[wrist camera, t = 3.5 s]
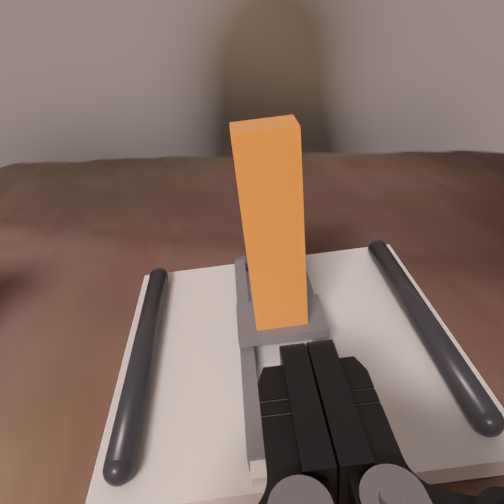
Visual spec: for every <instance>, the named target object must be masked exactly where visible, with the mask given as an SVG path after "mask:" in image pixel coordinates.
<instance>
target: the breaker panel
mask: <svg viewBox="0 0 504 504" xmlns="http://www.w3.org/2000/svg"><path fill="white" fill-rule="evenodd" d="M305 256H306V281H307V295H313V294H318V297H319V299H320V302H321V305H322V308H323V311H324V314H325V317H326V320H327V323H328V326H329V329H330V337H323V338H315V339H308V340H300V341H292V342H284V343H277V344H269V345H261V346H253V347H246V348H239V342H238V328H237V312H236V304H243V303H251V302H253V299H252V292H251V284H250V277H249V269H248V262H247V256H239V257H236V260H235V261H234V264H231V265H223V266H216V267H208V268H200V269H192V270H184V271H177V272H169V273H167V272H166V271H165V270H164V269H162V268H156V269H154V270H153V271H152V272H151V273H150V275H145V277H144V281H143V285H142V288H141V292H140V296H139V300H138V304H137V308H136V311H135V315H134V319H133V323H132V327H131V331H130V334H129V338H128V342H127V346H126V350H125V354H124V357H123V361H122V365H121V369H120V373H119V377H118V380H117V384H116V388H115V392H114V396H113V399H112V403H111V407H110V411H109V415H108V419H107V422H106V426H105V430H104V434H103V438H102V442H101V445H100V449H99V453H98V457H97V461H96V465H95V468H94V472H93V476H92V480H91V484H90V488H89V491H88V495H87V499H86V503H85V504H258V503H259V502H260V500H261V498H262V496H263V494H264V492H265V489H266V484H267V470H266V460H265V451H264V441H263V431H262V422H261V412H260V402H259V393H258V384H257V383H258V381H259V378H260V375H261V373H262V370H263V367H271V366H279V365H281V364H280V352H279V346H283V345H291V344H299V343H305V345H306V342H315V341H323V340H331V339H332V340H333V342H334V345H335V348H336V351H337V354H338V357H339V358H343V357H351V356H354V357H355V358H356V359H357V360H358V361H359V362H360V363H361V364H362V365H363V366H364V367H365V368H366V369H367V370H368V373H369V375H370V378H371V380H372V383H373V385H374V389H375V390H376V392H377V395H378V397H379V400H380V404H381V405H382V407H383V409H384V412H385V414H386V417H387V419H388V422H389V424H390V427H391V429H392V431H393V434H394V436H395V439H396V441H397V444H398V446H399V449H400V451H401V453H402V456H403V458H404V460H405V462H406V463H407V465H408V466H409V468H410V469H411V470H412V471H413V472H414V473H415V474H416V475H417V476H418V477H419V478H420V479H422V480H423V481H425V482H426V483H428V484H430V485H432V484H439V483H447V482H455V481H462V480H470V479H477V478H485V477H493V476H500V475H504V408H503V407H502V405H501V404H500V403H499V401H498V400H497V398H496V397H495V395H494V394H493V393H492V391H491V390H490V388H489V387H488V385H487V384H486V383H485V381H484V380H483V378H482V377H481V375H480V374H479V372H478V371H477V370H476V368H475V367H474V365H473V364H472V362H471V361H470V360H469V358H468V357H467V355H466V354H465V352H464V351H463V350H462V348H461V347H460V345H459V344H458V342H457V341H456V340H455V338H454V337H453V335H452V334H451V332H450V331H449V330H448V328H447V327H446V325H445V324H444V322H443V321H442V319H441V318H440V317H439V315H438V314H437V312H436V311H435V309H434V308H433V307H432V305H431V304H430V302H429V301H428V299H427V298H426V297H425V295H424V294H423V292H422V291H421V289H420V288H419V287H418V285H417V284H416V282H415V281H414V279H413V278H412V277H411V275H410V274H409V272H408V271H407V269H406V268H405V266H404V265H403V264H402V262H401V261H400V259H399V258H398V256H397V255H396V254H395V252H394V251H393V249H392V248H391V246H390V245H389V244H388V245H386V244H385V243H384V242H383V241H381V240H375V241H372V242H371V243H370V244H369V247H364V248H356V249H348V250H341V251H333V252H325V253H317V254H309V255H305Z"/></svg>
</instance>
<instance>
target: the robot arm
mask: <svg viewBox="0 0 504 504" xmlns="http://www.w3.org/2000/svg"><path fill="white" fill-rule="evenodd" d="M279 352H280V364H281V365H279V366H271V367H263V370H262V373H261V375H260V378H259V381H258V383H257V384H258V393H259V402H260V412H261V422H262V431H263V441H264V451H265V460H266V470H267V484H266V489H265V492H264V494H263V496H262V498H261V500H260V502H259V503H258V504H504V487H490V488H488V489H485V490H484V491H482V492H481V493H480V494H479V495H478V497H474V496H470V495H465V494H460V493H456V492H451V491H446V490H442V489H439V488H436V487H434V486H431V485H430V484H428V483H426V482H425V481H423V480H422V479H420V478H419V477H418V476H417V475H416V474H415V473H414V472H413V471H412V470H411V469H410V468H409V466H408V465H407V463H406V462H405V460H404V458H403V456H402V453H401V451H400V449H399V446H398V444H397V441H396V439H395V436H394V434H393V431H392V429H391V427H390V424H389V422H388V419H387V417H386V414H385V412H384V409H383V407H382V405H381V404H380V400H379V397H378V395H377V392H376V390H375V389H374V385H373V383H372V380H371V378H370V375H369V373H368V370H367V369H366V368H365V367H364V366H363V365H362V364H361V363H360V362H359V361H358V360H357V359H356V358H355V357H354V356H351V357H343V358H339V357H338V354H337V351H336V348H335V345H334V342H333V340H332V339H331V340H323V341H315V342H306V345H305V343H299V344H291V345H283V346H279Z"/></svg>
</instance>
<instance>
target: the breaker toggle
mask: <svg viewBox="0 0 504 504" xmlns="http://www.w3.org/2000/svg"><path fill="white" fill-rule="evenodd" d="M229 124H230V134H231V142H232V150H233V157H234V165H235V172H236V179H237V187H238V194H239V202H240V209H241V217H242V224H243V232H244V239H245V247H246V254H247V262H248V269H249V277H250V284H251V292H252V299H253V302H251V303H243V304H236V312H237V328H238V342H239V348H246V347H253V346H261V345H269V344H277V343H284V342H292V341H300V340H308V339H315V338H323V337H330V329H329V326H328V323H327V320H326V317H325V314H324V311H323V308H322V305H321V302H320V299H319V297H318V294H313V295H307V281H306V256H305V231H304V205H303V180H302V155H301V130H300V125H299V123H298V122H297V120H296V118H295V117H294V115H285V116H277V117H269V118H262V119H253V120H245V121H237V122H230V123H229Z"/></svg>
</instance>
